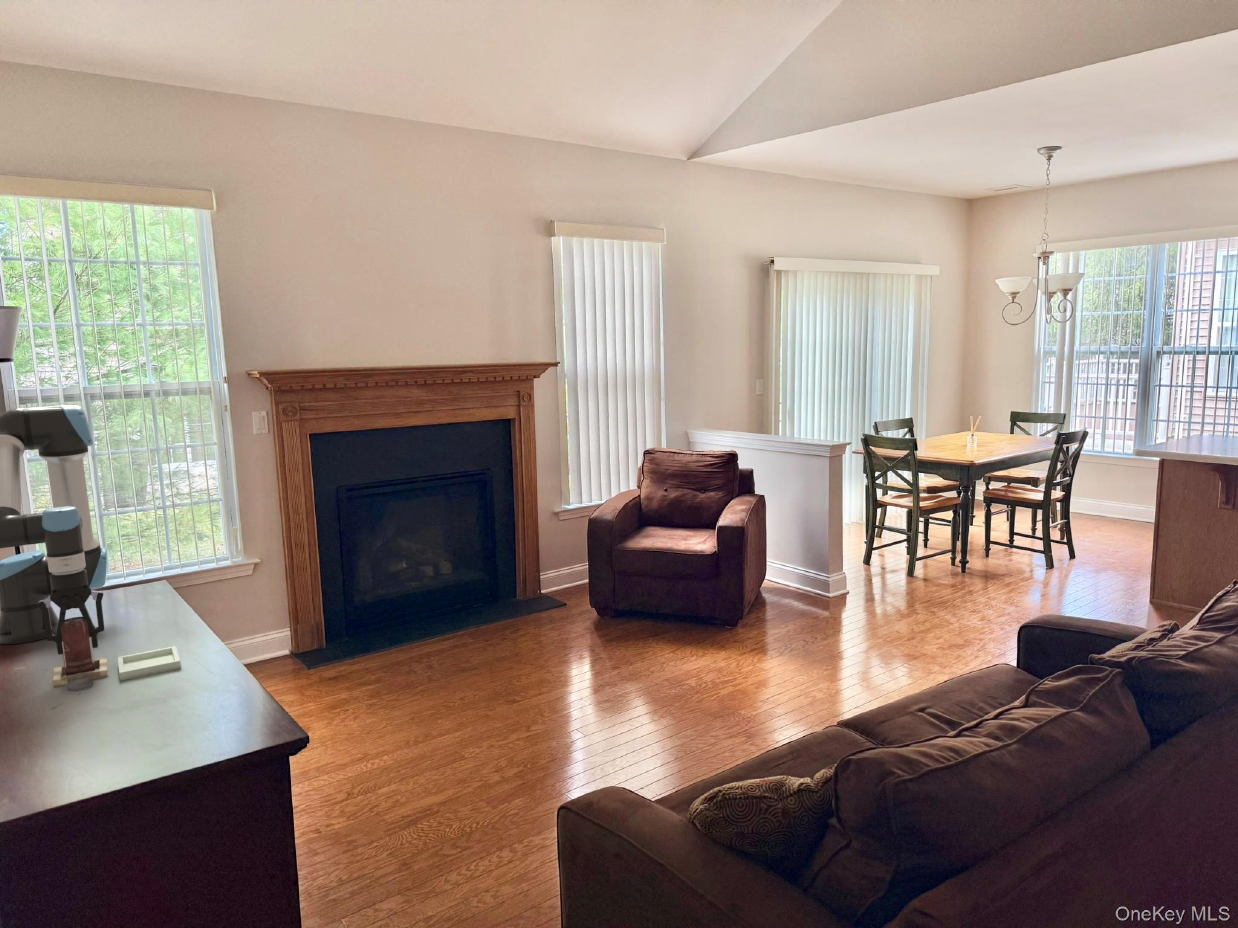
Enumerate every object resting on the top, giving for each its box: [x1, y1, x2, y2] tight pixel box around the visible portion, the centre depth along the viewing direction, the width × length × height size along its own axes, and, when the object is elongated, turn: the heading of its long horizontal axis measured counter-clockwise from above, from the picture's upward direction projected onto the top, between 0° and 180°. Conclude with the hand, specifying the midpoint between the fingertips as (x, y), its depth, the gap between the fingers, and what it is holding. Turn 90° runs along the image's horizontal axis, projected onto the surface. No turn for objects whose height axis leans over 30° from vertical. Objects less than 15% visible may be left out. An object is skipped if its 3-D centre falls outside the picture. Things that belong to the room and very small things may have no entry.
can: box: [61, 616, 96, 676], centre depth 205 cm, size 6×6×14 cm
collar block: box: [52, 656, 109, 692], centre depth 203 cm, size 18×11×3 cm, turn 32°
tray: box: [117, 645, 182, 681], centre depth 210 cm, size 13×13×2 cm
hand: (79, 663), depth 206 cm, fingers open, 4 cm apart
